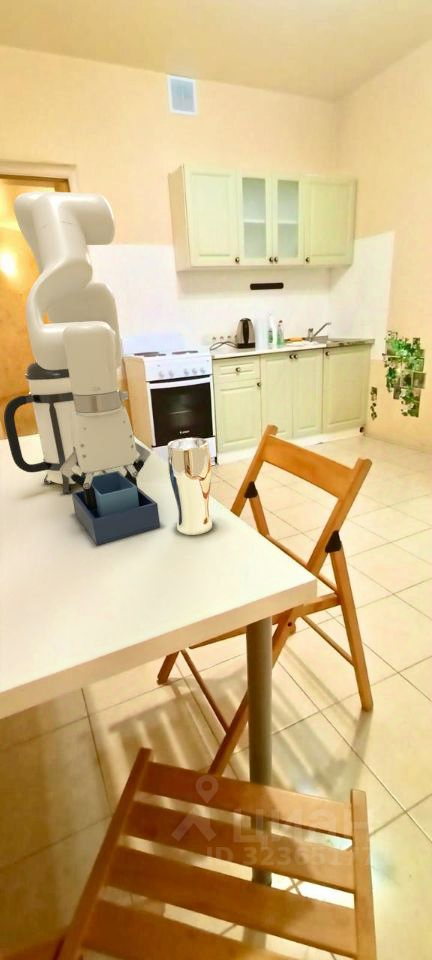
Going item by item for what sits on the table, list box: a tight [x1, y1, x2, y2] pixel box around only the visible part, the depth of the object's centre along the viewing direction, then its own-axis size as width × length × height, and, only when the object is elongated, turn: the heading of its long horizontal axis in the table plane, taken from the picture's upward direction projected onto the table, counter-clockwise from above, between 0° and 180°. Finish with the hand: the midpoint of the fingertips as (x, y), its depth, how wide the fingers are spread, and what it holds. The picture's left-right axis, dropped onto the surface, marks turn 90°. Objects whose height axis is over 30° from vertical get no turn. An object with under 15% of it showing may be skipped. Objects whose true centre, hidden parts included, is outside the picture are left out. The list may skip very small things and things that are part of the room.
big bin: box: [71, 487, 161, 546], centre depth 81 cm, size 15×11×4 cm
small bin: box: [91, 470, 139, 517], centre depth 80 cm, size 10×6×4 cm, turn 30°
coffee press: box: [3, 360, 108, 494], centre depth 96 cm, size 17×16×30 cm
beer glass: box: [167, 437, 213, 536], centre depth 74 cm, size 7×7×15 cm
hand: (112, 500), depth 80 cm, fingers closed on small bin, 6 cm apart
